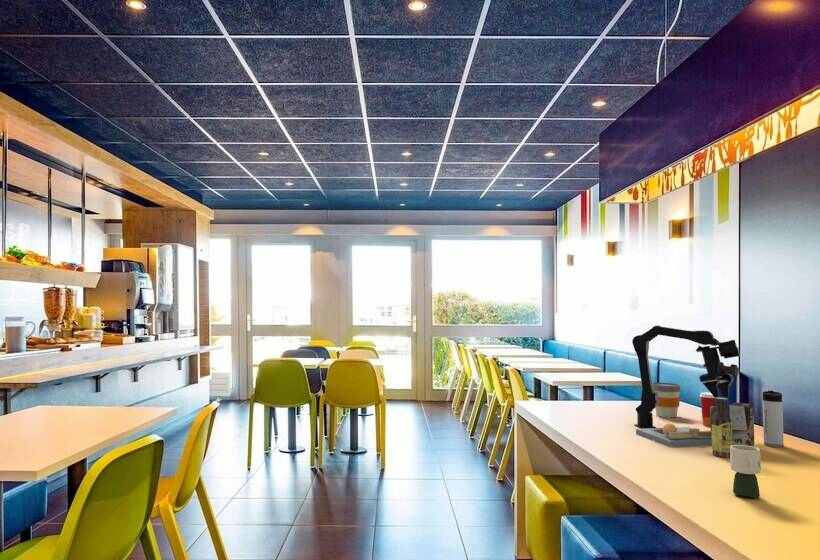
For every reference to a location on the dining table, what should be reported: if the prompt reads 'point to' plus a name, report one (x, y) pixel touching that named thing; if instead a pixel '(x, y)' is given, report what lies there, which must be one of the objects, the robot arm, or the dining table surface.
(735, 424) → the coffee box
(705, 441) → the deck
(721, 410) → the sauce bottle
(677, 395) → the reusable coffee cup
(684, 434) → the lever
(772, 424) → the travel mug
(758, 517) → the dining table surface
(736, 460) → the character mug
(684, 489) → the dining table surface
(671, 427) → the ball
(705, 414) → the paper cup
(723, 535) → the dining table surface
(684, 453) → the dining table surface
